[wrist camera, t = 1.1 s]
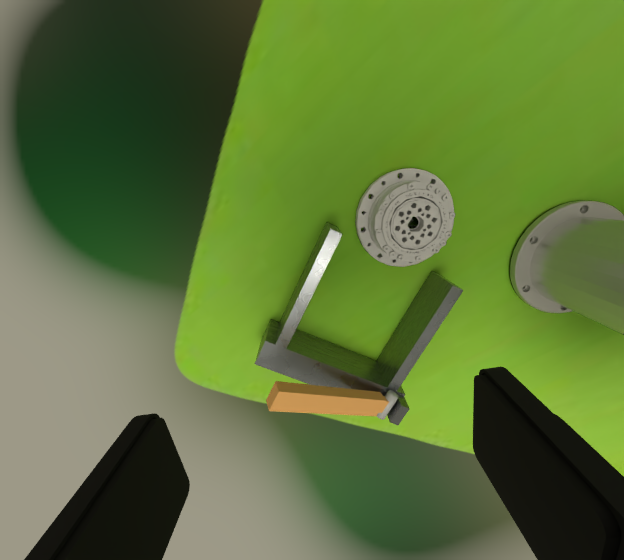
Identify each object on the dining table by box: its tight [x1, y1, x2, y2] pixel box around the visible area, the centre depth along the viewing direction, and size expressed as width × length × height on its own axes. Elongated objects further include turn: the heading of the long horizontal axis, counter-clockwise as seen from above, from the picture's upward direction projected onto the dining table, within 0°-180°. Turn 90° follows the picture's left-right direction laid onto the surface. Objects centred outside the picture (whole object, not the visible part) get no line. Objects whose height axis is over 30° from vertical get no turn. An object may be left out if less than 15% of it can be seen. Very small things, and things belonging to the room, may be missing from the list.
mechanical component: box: [355, 168, 455, 267], centre depth 29 cm, size 10×4×10 cm
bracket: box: [255, 222, 463, 425], centre depth 31 cm, size 17×16×7 cm
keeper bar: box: [266, 381, 398, 419], centre depth 28 cm, size 14×3×1 cm, turn 65°
